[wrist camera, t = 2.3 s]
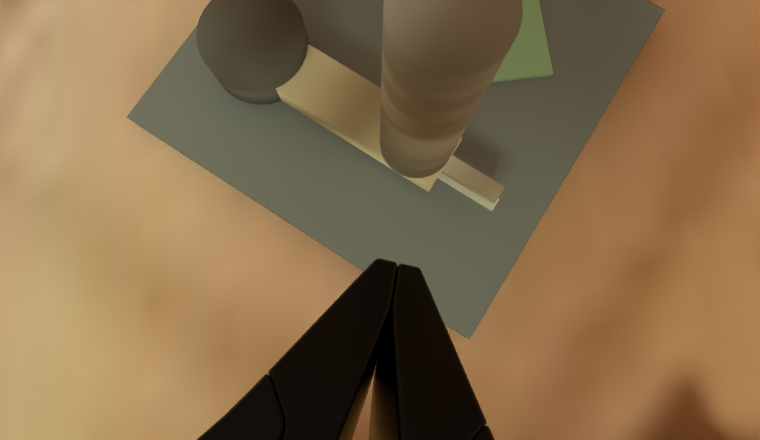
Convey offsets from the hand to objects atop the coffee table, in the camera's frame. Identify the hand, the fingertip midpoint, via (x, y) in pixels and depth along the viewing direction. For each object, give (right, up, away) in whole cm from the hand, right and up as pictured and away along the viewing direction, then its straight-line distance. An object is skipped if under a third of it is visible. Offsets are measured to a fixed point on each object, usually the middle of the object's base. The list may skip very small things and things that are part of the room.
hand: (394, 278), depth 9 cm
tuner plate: (+1, +8, +13) cm, 16 cm away
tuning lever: (-1, +6, +11) cm, 13 cm away
